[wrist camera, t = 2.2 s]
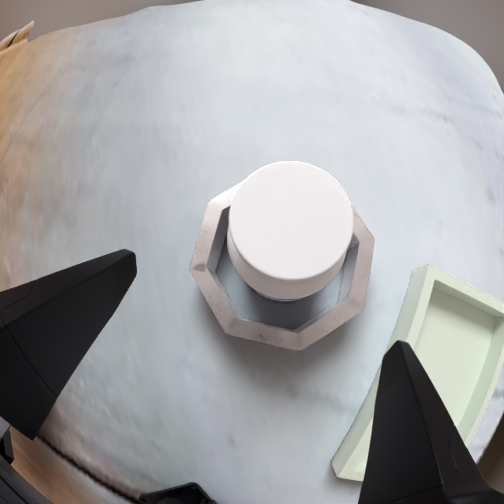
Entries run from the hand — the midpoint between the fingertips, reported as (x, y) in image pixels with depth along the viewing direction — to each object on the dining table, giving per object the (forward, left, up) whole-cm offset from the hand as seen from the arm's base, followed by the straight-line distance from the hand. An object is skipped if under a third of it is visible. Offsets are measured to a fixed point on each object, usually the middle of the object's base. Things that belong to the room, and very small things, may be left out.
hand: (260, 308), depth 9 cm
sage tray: (+8, -13, -11) cm, 18 cm away
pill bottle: (+3, +2, -11) cm, 12 cm away
